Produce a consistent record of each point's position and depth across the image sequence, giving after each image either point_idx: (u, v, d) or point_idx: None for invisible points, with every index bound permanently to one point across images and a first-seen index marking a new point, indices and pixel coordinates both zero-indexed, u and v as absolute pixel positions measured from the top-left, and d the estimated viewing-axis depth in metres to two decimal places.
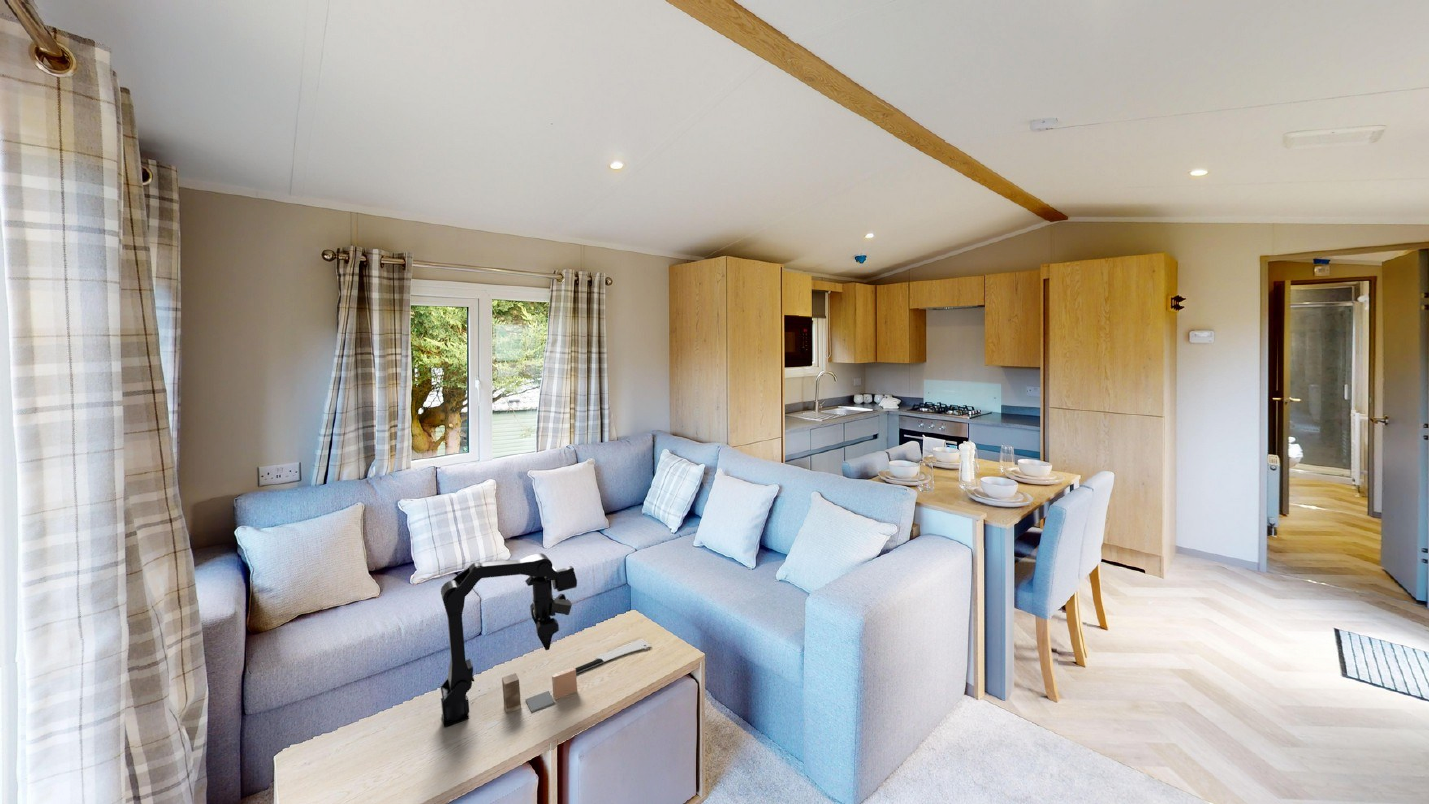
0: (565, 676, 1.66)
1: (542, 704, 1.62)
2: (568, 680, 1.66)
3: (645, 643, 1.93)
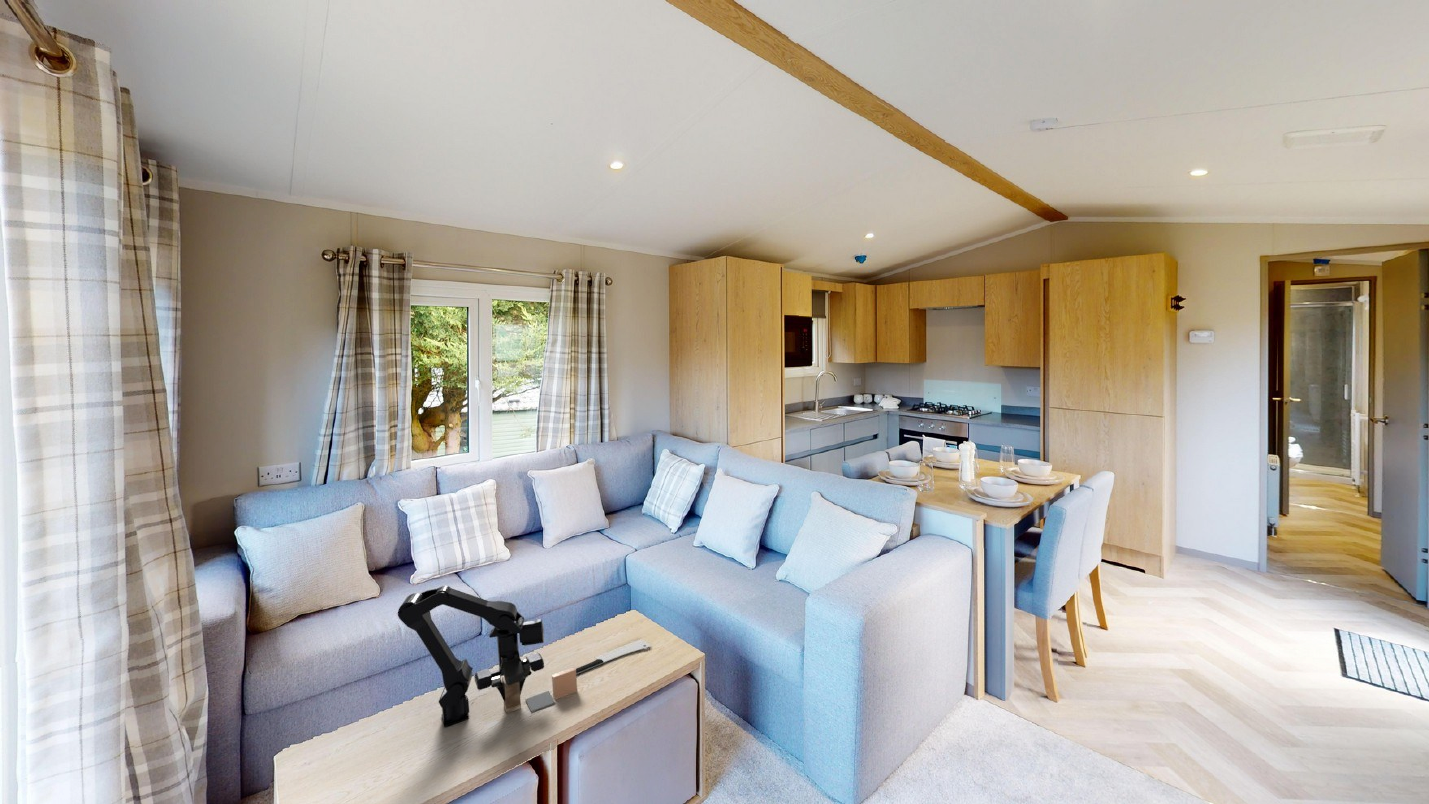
0: (565, 676, 1.66)
1: (542, 704, 1.62)
2: (568, 680, 1.66)
3: (645, 643, 1.93)
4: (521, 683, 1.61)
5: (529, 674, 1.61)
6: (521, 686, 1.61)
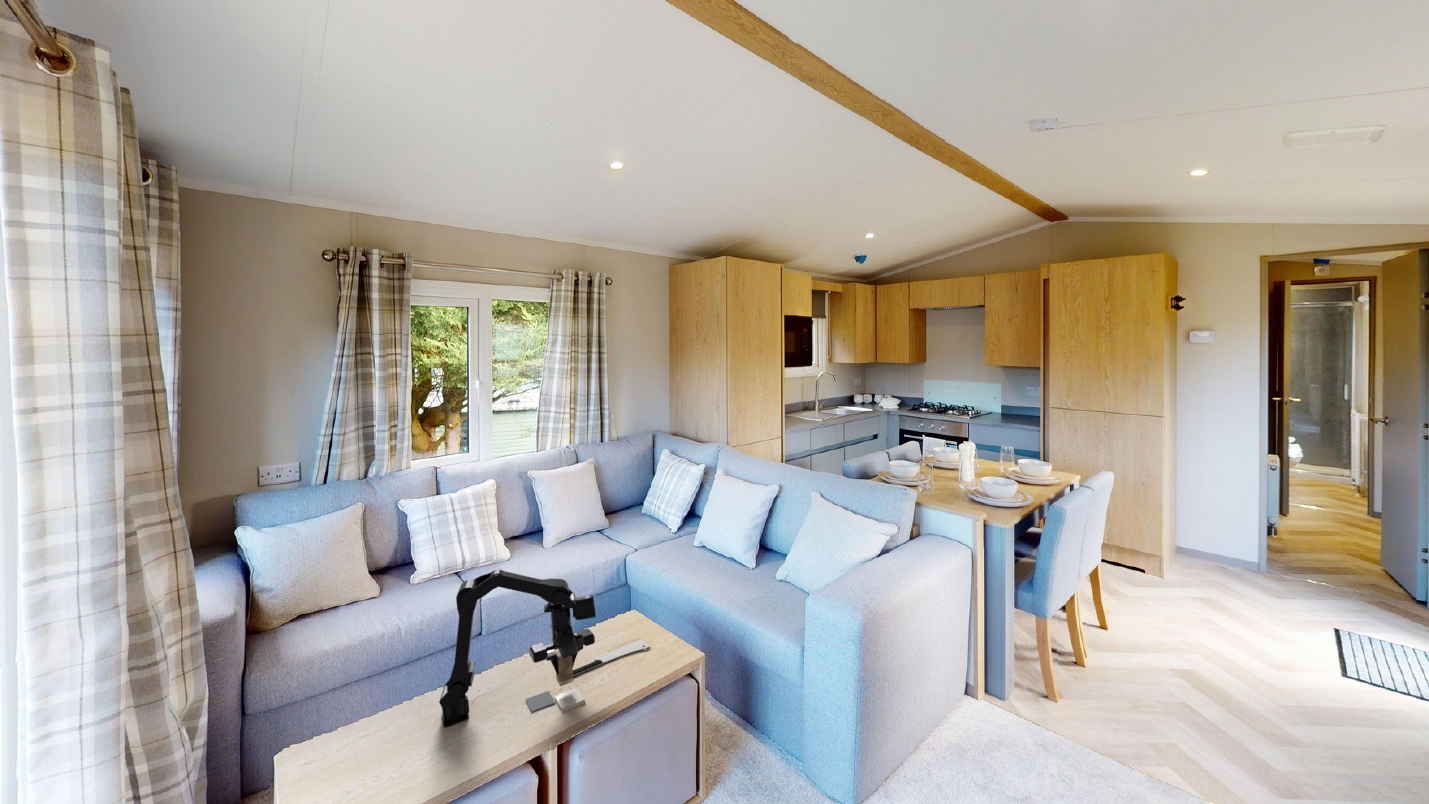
0: None
1: (542, 704, 1.62)
2: None
3: (644, 644, 1.93)
4: (573, 657, 1.66)
5: (581, 648, 1.65)
6: (573, 660, 1.66)
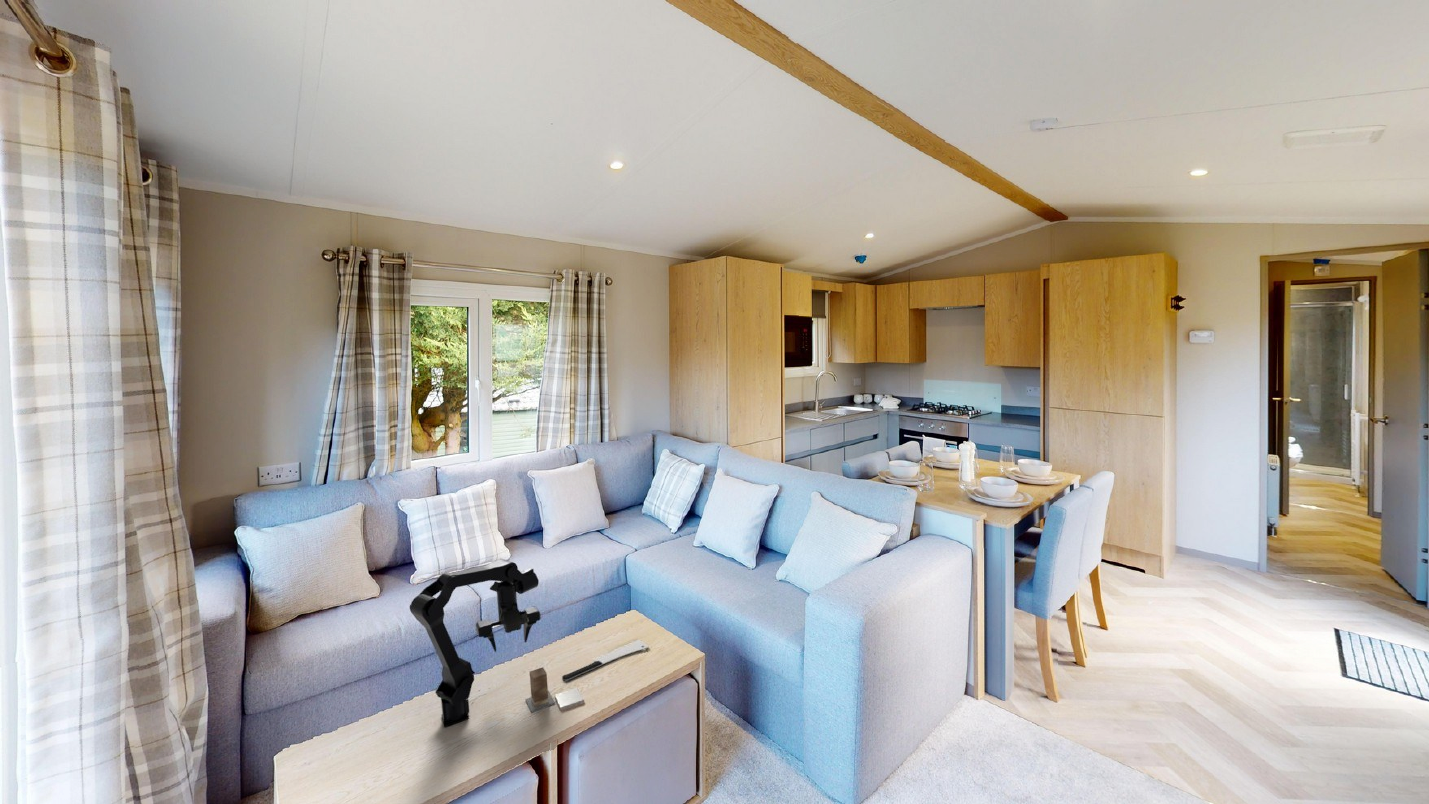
0: None
1: (542, 704, 1.62)
2: None
3: (643, 644, 1.93)
4: (527, 631, 1.74)
5: (534, 622, 1.74)
6: (527, 634, 1.74)
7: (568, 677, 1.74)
